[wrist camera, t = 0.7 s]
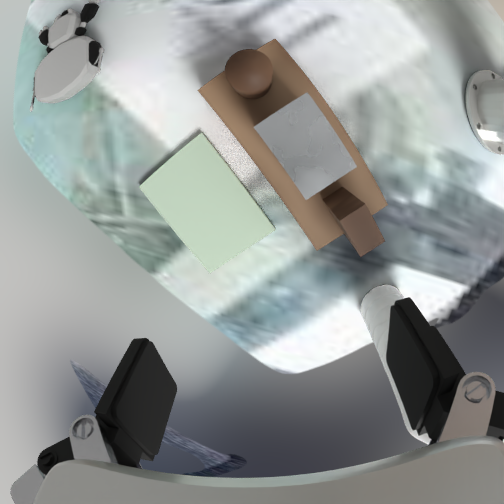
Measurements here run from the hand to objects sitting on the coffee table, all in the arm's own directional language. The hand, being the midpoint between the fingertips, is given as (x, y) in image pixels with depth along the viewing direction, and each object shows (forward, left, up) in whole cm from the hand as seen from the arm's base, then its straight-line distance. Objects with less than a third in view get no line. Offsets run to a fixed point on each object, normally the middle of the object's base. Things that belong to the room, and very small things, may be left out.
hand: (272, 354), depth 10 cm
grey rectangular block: (-6, -4, -19) cm, 20 cm away
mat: (+6, -4, -24) cm, 25 cm away
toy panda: (+8, -33, -24) cm, 42 cm away
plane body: (-6, -4, -24) cm, 25 cm away
